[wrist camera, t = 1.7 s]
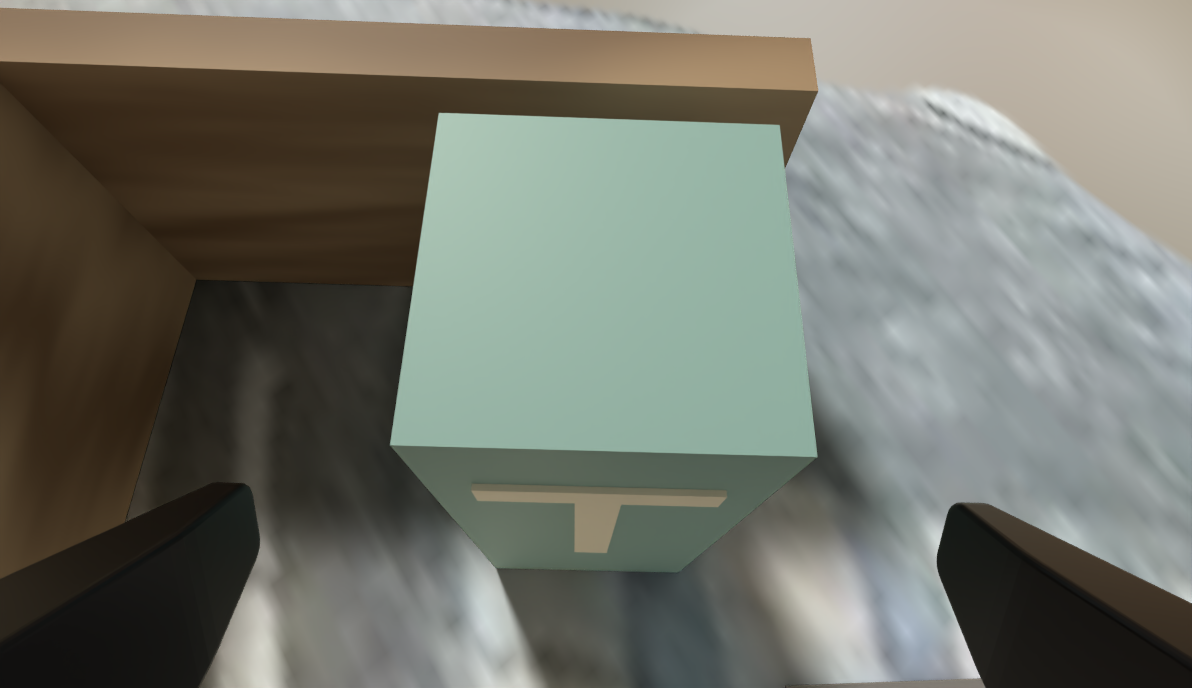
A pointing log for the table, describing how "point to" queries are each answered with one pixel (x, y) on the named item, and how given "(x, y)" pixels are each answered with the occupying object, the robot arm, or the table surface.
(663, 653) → the table surface
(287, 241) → the screen
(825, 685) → the mat
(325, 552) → the table surface
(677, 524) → the block
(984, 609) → the robot arm
